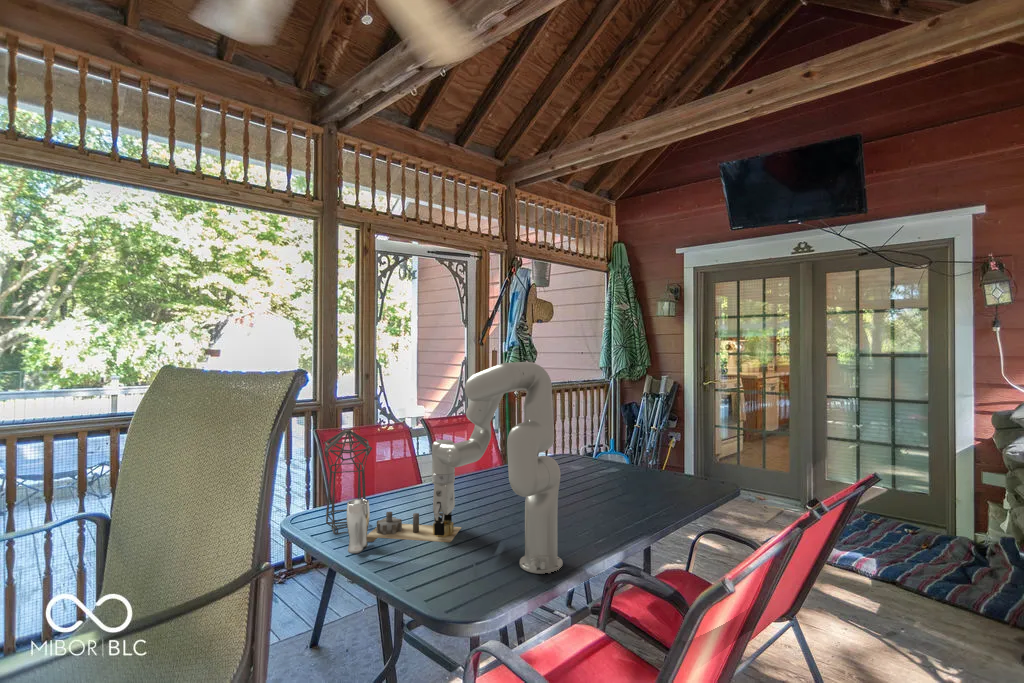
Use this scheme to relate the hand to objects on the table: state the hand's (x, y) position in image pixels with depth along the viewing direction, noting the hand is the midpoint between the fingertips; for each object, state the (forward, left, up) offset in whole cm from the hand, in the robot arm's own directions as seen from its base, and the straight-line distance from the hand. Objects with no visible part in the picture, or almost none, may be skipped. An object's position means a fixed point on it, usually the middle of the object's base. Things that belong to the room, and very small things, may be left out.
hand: (443, 530), depth 172 cm
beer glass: (-14, +23, -3) cm, 28 cm away
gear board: (0, +10, -3) cm, 10 cm away
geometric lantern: (+2, +35, -3) cm, 36 cm away
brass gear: (0, 0, -1) cm, 1 cm away
